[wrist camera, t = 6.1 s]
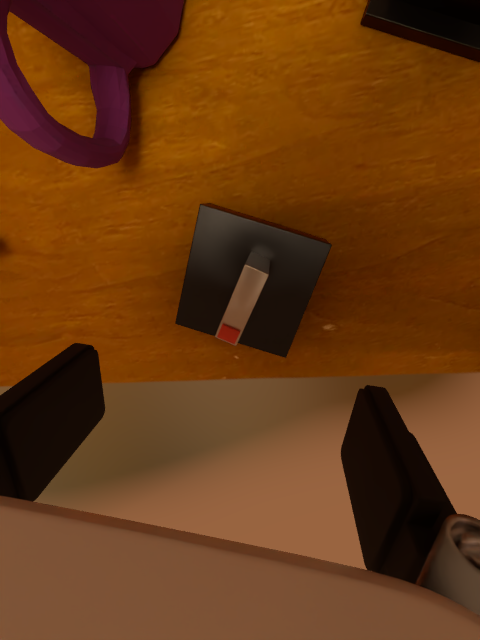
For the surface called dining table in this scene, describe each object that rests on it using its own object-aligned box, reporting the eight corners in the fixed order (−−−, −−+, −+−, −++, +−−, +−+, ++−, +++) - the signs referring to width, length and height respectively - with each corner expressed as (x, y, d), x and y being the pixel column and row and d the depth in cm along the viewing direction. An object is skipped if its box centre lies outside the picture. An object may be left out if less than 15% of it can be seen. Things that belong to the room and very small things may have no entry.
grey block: (251, 251, 22) (244, 265, 18) (270, 259, 22) (268, 275, 18) (225, 313, 24) (213, 338, 20) (242, 320, 24) (235, 347, 20)
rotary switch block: (325, 239, 24) (332, 244, 21) (284, 342, 28) (285, 358, 25) (208, 202, 24) (200, 203, 21) (184, 311, 28) (174, 323, 25)
